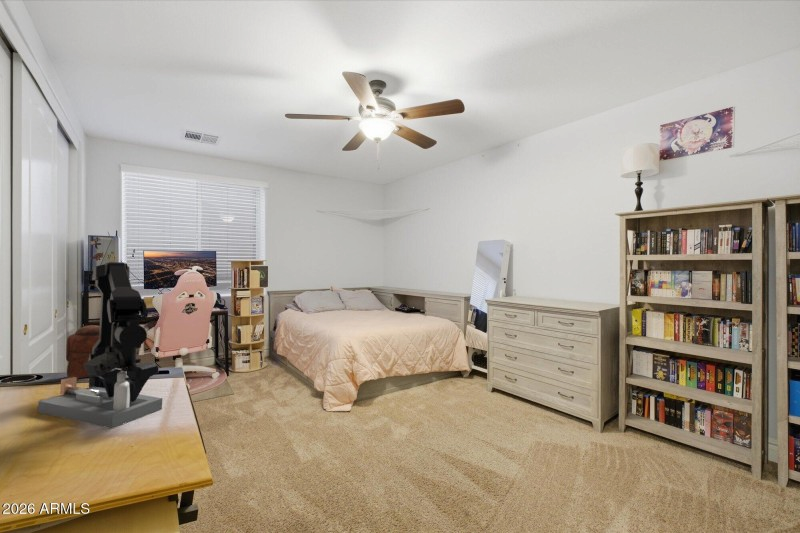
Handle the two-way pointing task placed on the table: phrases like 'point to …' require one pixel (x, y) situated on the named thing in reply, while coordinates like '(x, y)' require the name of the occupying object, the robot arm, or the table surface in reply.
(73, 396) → the dock block
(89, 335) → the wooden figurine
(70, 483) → the table surface
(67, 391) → the lock pin
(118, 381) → the eye dropper bottle
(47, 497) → the table surface
